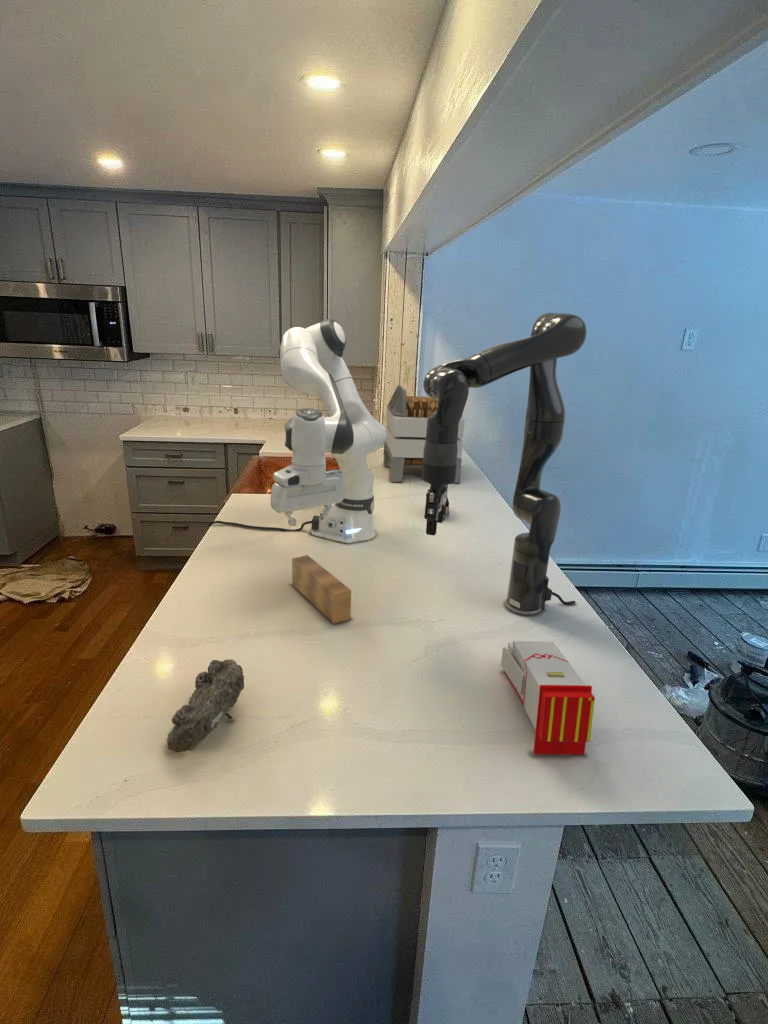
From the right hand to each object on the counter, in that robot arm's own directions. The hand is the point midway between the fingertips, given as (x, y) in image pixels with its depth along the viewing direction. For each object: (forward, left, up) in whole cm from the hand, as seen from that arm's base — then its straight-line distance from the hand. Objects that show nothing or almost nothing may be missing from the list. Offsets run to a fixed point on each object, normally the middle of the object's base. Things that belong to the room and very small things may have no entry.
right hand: (434, 528), depth 131 cm
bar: (+22, -22, -27) cm, 41 cm away
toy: (-10, +33, -27) cm, 44 cm away
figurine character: (-39, -75, -27) cm, 89 cm away
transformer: (-55, -132, -27) cm, 145 cm away
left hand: (+23, -29, -7) cm, 38 cm away
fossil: (+52, +17, -27) cm, 61 cm away
